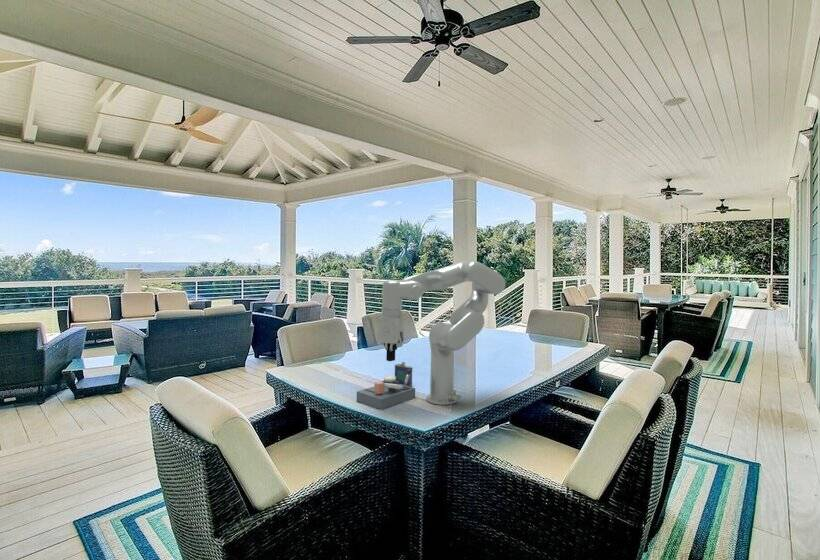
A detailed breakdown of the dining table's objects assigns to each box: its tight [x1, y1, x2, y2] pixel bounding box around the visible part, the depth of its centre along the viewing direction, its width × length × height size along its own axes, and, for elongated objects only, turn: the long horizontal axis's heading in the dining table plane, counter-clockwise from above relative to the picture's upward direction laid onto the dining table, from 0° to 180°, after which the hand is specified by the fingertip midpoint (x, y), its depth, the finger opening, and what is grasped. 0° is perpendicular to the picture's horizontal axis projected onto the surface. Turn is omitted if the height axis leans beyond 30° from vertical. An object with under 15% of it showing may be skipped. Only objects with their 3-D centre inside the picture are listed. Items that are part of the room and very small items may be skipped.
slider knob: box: [374, 381, 384, 394], centre depth 166 cm, size 2×3×4 cm
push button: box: [383, 375, 396, 383], centre depth 178 cm, size 5×5×3 cm
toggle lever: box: [404, 369, 413, 387], centre depth 174 cm, size 2×2×7 cm
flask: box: [394, 361, 413, 387], centre depth 193 cm, size 9×3×11 cm, turn 59°
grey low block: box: [356, 380, 416, 411], centre depth 172 cm, size 14×20×6 cm
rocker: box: [384, 383, 403, 389], centre depth 169 cm, size 4×8×1 cm, turn 139°
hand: (390, 360), depth 161 cm, fingers closed
